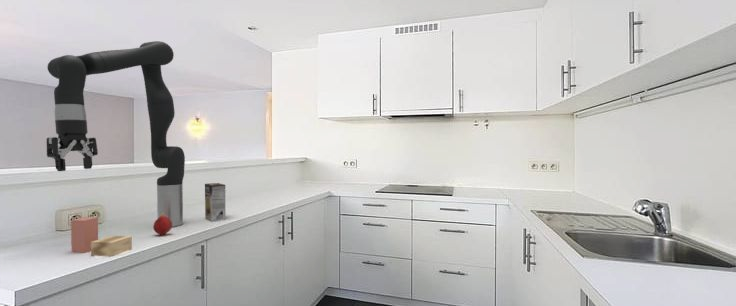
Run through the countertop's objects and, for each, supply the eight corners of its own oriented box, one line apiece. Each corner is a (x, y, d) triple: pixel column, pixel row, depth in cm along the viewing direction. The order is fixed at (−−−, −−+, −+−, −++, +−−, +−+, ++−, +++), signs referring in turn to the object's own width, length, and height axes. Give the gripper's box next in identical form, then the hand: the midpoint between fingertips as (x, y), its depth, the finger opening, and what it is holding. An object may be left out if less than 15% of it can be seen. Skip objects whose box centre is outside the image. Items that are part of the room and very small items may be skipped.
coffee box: (204, 218, 152) (204, 183, 151) (219, 216, 156) (218, 182, 156) (211, 221, 145) (210, 185, 145) (226, 219, 149) (225, 184, 149)
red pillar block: (71, 252, 101) (71, 220, 101) (85, 248, 106) (85, 217, 105) (84, 253, 100) (83, 220, 100) (98, 248, 105) (97, 217, 105)
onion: (163, 238, 118) (162, 216, 118) (149, 237, 119) (149, 215, 119) (175, 234, 124) (175, 212, 124) (162, 233, 125) (162, 212, 125)
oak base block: (91, 255, 98) (90, 241, 98) (112, 248, 105) (111, 235, 105) (111, 256, 97) (111, 242, 97) (131, 248, 104) (131, 236, 104)
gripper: (58, 117, 98) (63, 171, 98) (102, 120, 112) (105, 167, 112) (36, 118, 98) (40, 172, 99) (82, 121, 112) (85, 168, 113)
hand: (75, 169), depth 106 cm, fingers open, 8 cm apart
